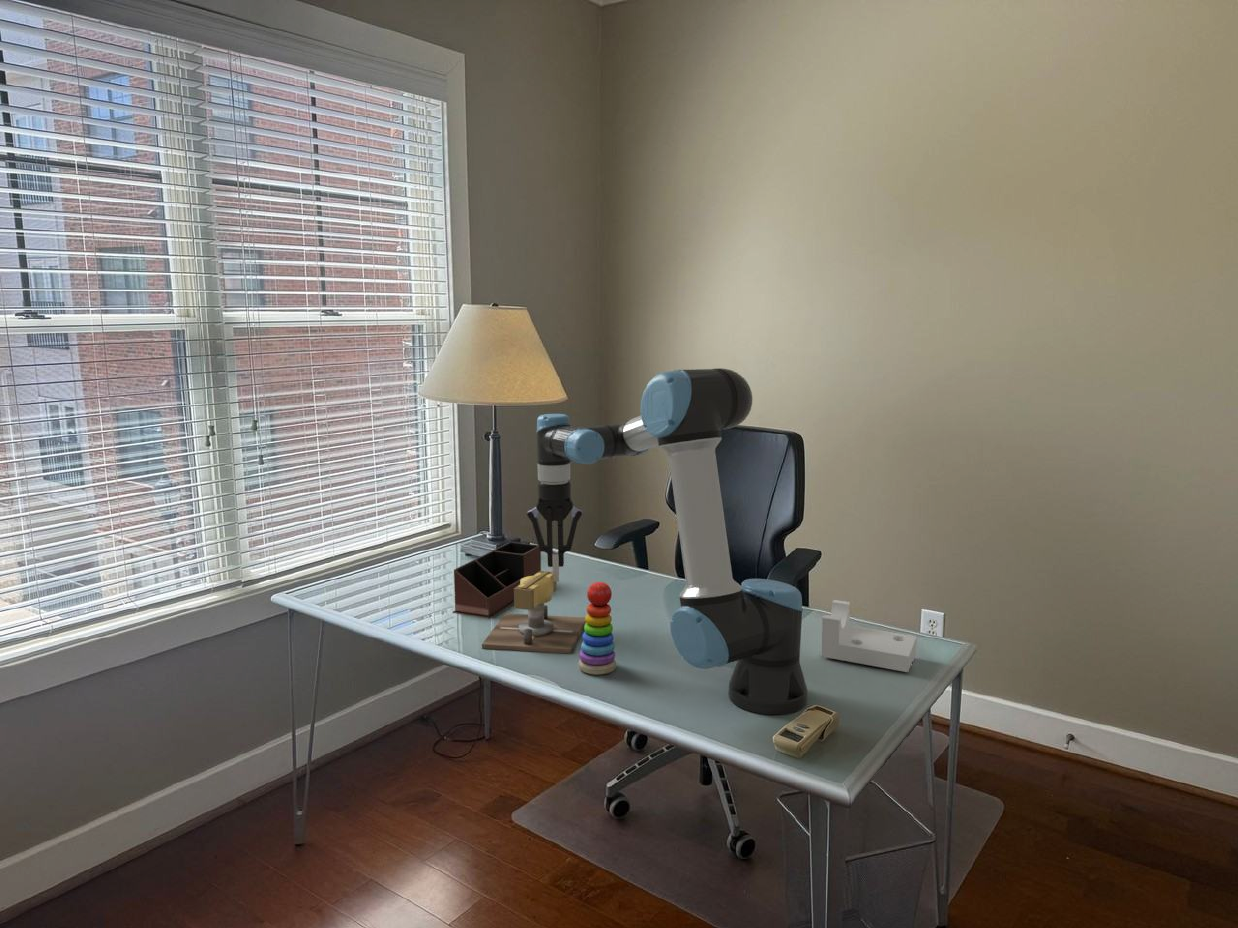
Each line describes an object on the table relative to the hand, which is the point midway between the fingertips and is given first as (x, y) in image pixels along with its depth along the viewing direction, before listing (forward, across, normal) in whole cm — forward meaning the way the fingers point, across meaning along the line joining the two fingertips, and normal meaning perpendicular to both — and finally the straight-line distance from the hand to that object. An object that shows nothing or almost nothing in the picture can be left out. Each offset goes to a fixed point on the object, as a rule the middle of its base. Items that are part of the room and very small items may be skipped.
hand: (556, 579), depth 210 cm
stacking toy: (+12, -9, +25) cm, 29 cm away
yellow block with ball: (+3, +4, +6) cm, 8 cm away
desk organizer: (+12, +15, -21) cm, 28 cm away
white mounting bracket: (+13, -68, +21) cm, 72 cm away
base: (+11, +4, +6) cm, 13 cm away
